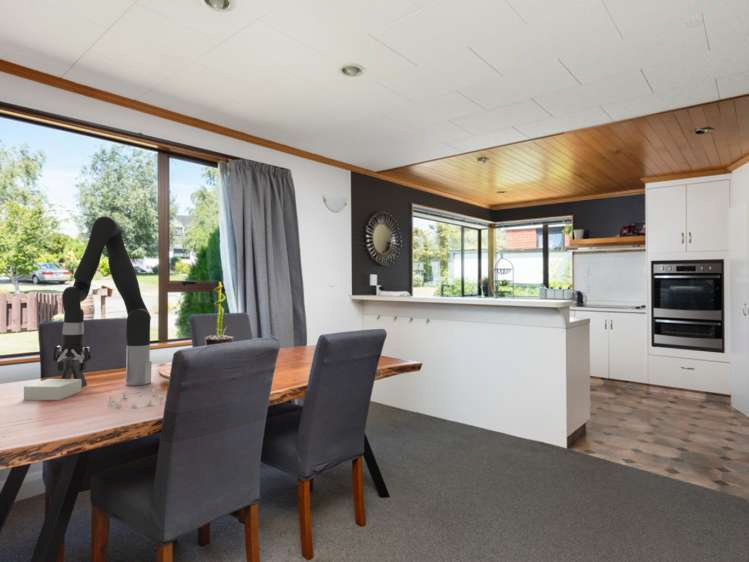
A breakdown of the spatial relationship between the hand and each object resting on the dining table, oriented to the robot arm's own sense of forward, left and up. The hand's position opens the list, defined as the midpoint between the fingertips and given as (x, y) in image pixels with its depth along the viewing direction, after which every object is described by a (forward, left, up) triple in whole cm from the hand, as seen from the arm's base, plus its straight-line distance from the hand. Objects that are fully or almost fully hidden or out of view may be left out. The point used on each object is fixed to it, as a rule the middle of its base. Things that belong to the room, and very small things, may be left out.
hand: (71, 371), depth 193 cm
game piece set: (-38, +23, -7) cm, 45 cm away
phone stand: (0, 0, -7) cm, 7 cm away
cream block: (-2, +15, -7) cm, 16 cm away
